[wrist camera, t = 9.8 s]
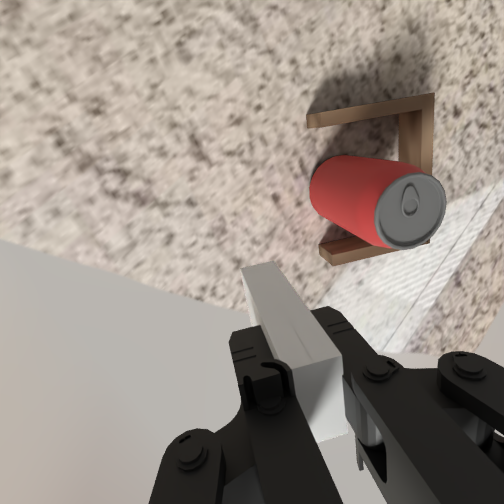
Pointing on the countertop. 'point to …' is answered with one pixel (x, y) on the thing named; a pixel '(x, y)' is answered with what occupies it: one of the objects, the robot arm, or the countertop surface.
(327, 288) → the countertop surface
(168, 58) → the countertop surface
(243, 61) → the countertop surface
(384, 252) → the walnut bay
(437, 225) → the beer can
